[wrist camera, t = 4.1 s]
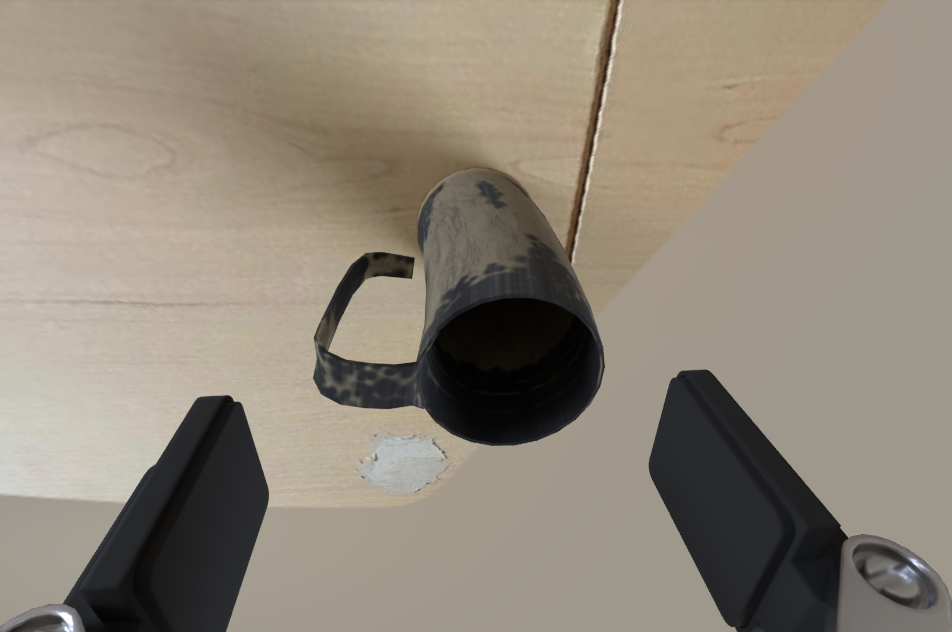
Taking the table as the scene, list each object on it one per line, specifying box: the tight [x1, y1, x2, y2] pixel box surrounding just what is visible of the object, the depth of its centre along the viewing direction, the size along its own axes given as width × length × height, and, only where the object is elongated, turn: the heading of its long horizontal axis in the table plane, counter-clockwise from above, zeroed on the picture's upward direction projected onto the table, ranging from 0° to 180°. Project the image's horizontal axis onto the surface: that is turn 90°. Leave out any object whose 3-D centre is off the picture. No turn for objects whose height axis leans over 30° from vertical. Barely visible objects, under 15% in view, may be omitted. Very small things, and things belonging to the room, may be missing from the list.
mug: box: [313, 168, 605, 446], centre depth 17 cm, size 8×6×12 cm
